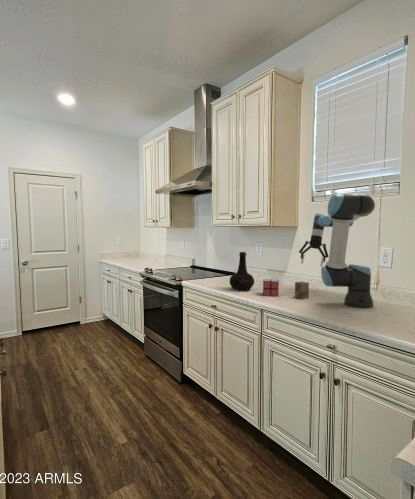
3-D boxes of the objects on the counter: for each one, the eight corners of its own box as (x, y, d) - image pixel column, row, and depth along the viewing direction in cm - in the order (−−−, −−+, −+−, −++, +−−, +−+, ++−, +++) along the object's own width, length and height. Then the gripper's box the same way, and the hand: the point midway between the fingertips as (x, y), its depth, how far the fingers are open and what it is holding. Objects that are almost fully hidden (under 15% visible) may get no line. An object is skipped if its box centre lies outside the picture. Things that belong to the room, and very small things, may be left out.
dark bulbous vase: (224, 289, 220) (224, 252, 219) (239, 286, 233) (240, 250, 231) (243, 293, 208) (244, 253, 206) (258, 289, 220) (259, 251, 219)
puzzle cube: (278, 296, 197) (278, 281, 196) (263, 295, 199) (263, 281, 198) (277, 293, 207) (278, 279, 206) (263, 292, 209) (263, 278, 208)
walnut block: (308, 298, 192) (308, 282, 191) (302, 299, 189) (302, 283, 188) (301, 296, 197) (301, 281, 196) (294, 297, 194) (295, 282, 193)
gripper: (333, 238, 213) (327, 267, 214) (298, 232, 216) (292, 261, 217) (336, 238, 206) (331, 268, 207) (300, 232, 208) (294, 262, 209)
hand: (311, 265), depth 212 cm, fingers open, 13 cm apart
